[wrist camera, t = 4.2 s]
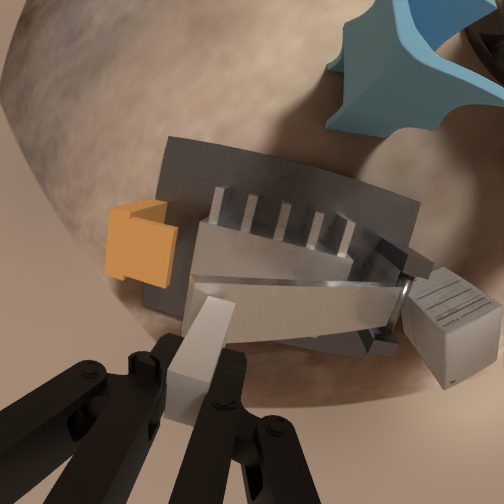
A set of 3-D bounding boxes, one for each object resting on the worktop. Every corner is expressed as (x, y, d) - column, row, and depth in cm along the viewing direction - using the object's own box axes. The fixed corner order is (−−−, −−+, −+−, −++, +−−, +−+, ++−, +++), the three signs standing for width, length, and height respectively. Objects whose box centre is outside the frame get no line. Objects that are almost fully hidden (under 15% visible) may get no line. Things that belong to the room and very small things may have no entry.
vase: (393, 140, 27) (521, 111, 8) (324, 129, 28) (398, 58, 8) (393, 77, 25) (495, -1, 6) (327, 64, 26) (378, -53, 6)
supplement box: (448, 312, 32) (497, 362, 19) (402, 333, 33) (442, 393, 21) (444, 263, 30) (504, 303, 18) (395, 283, 31) (444, 336, 19)
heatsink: (173, 137, 29) (139, 126, 21) (414, 201, 29) (454, 211, 20) (147, 300, 35) (115, 332, 26) (359, 352, 34) (375, 394, 26)
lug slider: (151, 198, 30) (110, 207, 21) (202, 210, 29) (175, 223, 21) (143, 250, 31) (104, 274, 23) (192, 264, 31) (164, 293, 23)
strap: (192, 255, 15) (199, 266, 14) (405, 271, 25) (417, 278, 23) (178, 344, 17) (184, 360, 16) (383, 326, 26) (394, 334, 25)
